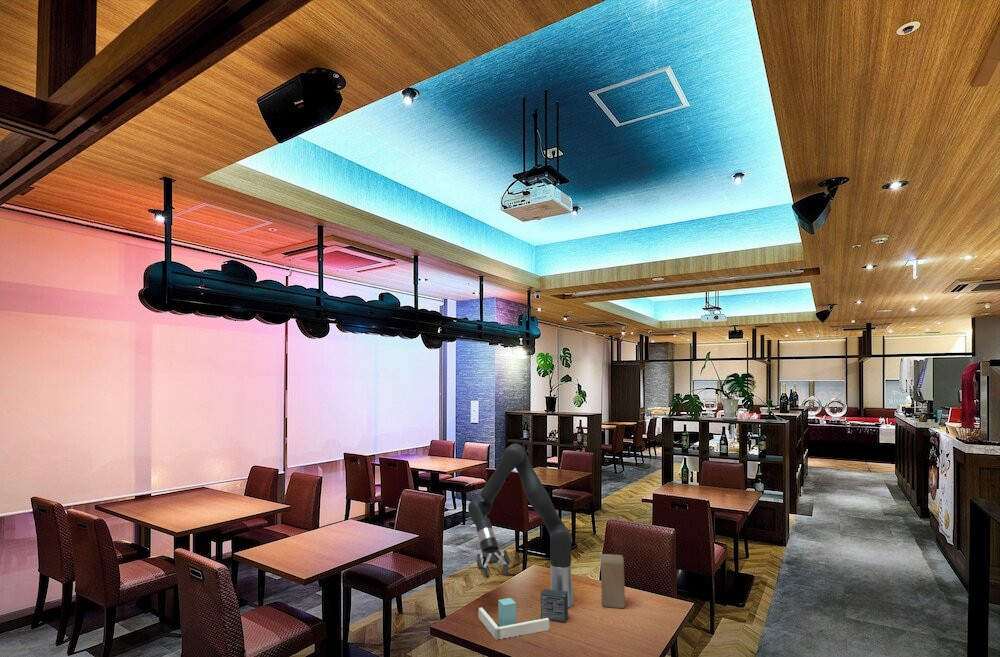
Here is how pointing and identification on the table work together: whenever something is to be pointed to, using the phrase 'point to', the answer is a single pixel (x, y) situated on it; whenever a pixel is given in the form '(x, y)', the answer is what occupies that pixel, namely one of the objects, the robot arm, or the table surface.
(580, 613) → the table surface
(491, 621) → the white l-shaped bracket
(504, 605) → the teal block
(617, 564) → the block
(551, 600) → the small box
